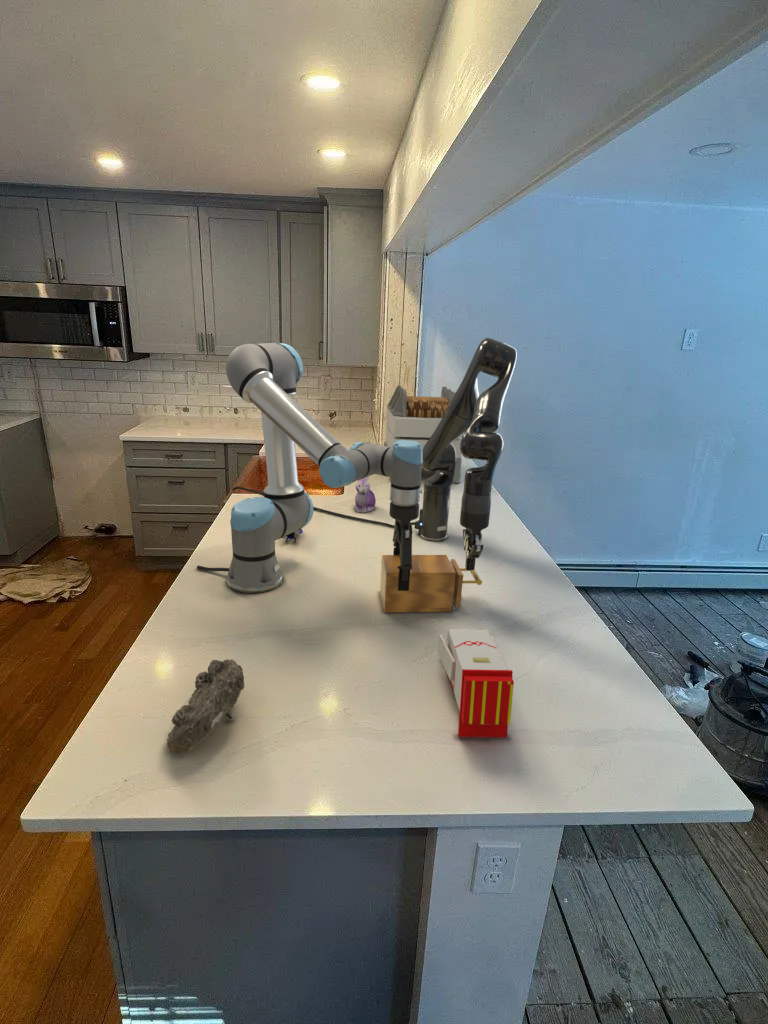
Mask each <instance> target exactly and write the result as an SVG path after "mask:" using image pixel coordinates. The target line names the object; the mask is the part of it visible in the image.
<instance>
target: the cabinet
mask: <svg viewBox="0 0 768 1024" xmlns="http://www.w3.org/2000/svg"><path fill="white" fill-rule="evenodd" d="M450 561H451V560H450V559H449V557H448V555H447V554H412V569H410V579H409V591H398V580H399V569H398V568H397V567H398V566H400V555H393V554H381V567H380V587H379V588H380V589H379V591H380V592H379V593H380V599H381V603H382V609H383V612H384V613H439V612H440V613H445V612H447V613H450V612H451V613H452V612H453V604H454V602H453V593H454V582H455V571H454V569H453V567H452V565H451V563H450Z"/></svg>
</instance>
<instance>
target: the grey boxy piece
mask: <svg viewBox="0 0 768 1024" xmlns="http://www.w3.org/2000/svg"><path fill="white" fill-rule="evenodd" d="M440 393H441V394H440V396H415V395H414V396H413V395H412V396H411V395H407V394H408V393H407V390H406V389H404V388H403V387H402V385H399V384H398V385H397V386H396V388H395V390H394V392H393V394H392V395H391V398H390V400H389V402H388V404H387V405H386V413H385V414H386V415H385V423H386V428H385V438H384V442H383V446H388V447H393V443H394V442H396V441H400V440H407V441H416V442H418V443H420V444H421V445H422V448H423V447H424V446H425V444H426V443H427V441H428V440H429V438H430V437H431V436H432V434H433V433H434V431H435V430H436V428H437V426H438V424H439V423H440V421H441V419H442V417H443V416H444V414H445V411H446V409H447V407H448V405H449V403H450V402H451V400H452V398H453V396H454V395H455V393H456V391H453V390H452V389H451V388H447V386H442V387H441V392H440ZM463 435H464V433H463V434H462V435H461V436H459V437H458V438H456V439H455V440H454V441H452V442H451V444H452V445H453V446H454V448H455V451H456V466H455V473H454V480H453V484H455V483H456V484H459V483H461V472H462V461H463V460H462V454H461V452H460V442H461V439H462V437H463ZM388 478H389V480H390V481H391V477H388Z"/></svg>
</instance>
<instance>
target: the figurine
mask: <svg viewBox="0 0 768 1024" xmlns="http://www.w3.org/2000/svg"><path fill="white" fill-rule="evenodd" d="M369 478H370V476H368V477H365V478H363V479H359V480H357V481H356V485H355V490H356V494H355V497H354V502H355V503H354V504H355V505H354V510H355V512H357V513H367V512H368V513H369V512H372V511H374V510H375V507H376V496H375V493H374V492H373V490H371V485H370V482H369Z"/></svg>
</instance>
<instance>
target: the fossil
mask: <svg viewBox="0 0 768 1024" xmlns="http://www.w3.org/2000/svg"><path fill="white" fill-rule="evenodd" d="M243 670H244V669H243V667H242V665H240V664H237V662H236V661H235V660H234V659H232V658H231V659H227V658H226V659H224V660H223V661H222V660H217V659H212V660H211V661H210V663H209V665H208V666H207V671H201V672H199V673H198V674H197V675H196V676H195V680H194V684H195V685H194V687H195V689H194V690H193V693H192V694H191V697H190V698H189V700H188V704H184V705H182V706H181V707H180V709H177V710H176V711H175V713H174V715H173V716H172V718H171V723H172V724H173V727H172V730H171V731H170V732H168V734H167V738H166V741H167V742H166V745H167V749H168V750H169V751H173V752H174V753H176V754H178V753H182V752H188V751H189V752H192V751H193V750H195V748H196V747H197V746H199V744H200V743H201V742H203V741H204V740H205V739H206V738H207V737H208V736H209V735H210V734H211V733H212V732H214V730H215V729H217V727H218V726H219V724H220V722H221V721H222V720H223V719H224V718H225V716H226V717H227V719H229V720H233V717H232V715H230V714H229V710H230V709H231V708H234V706H235V704H236V703H237V702H238V699H239V697H240V695H241V693H242V691H243V690H245V689H244V688H245V675H244V671H243Z"/></svg>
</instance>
